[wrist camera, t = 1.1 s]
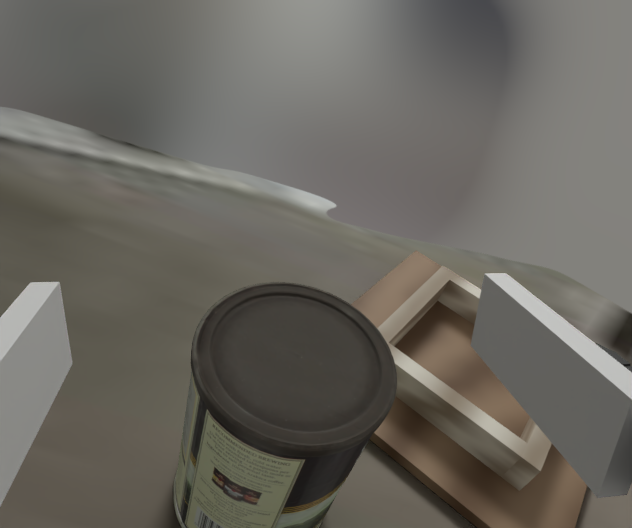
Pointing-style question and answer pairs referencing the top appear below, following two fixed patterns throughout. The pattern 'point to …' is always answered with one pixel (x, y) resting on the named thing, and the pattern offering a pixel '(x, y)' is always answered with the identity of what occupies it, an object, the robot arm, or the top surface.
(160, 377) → the top surface
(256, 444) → the coffee can
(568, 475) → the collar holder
